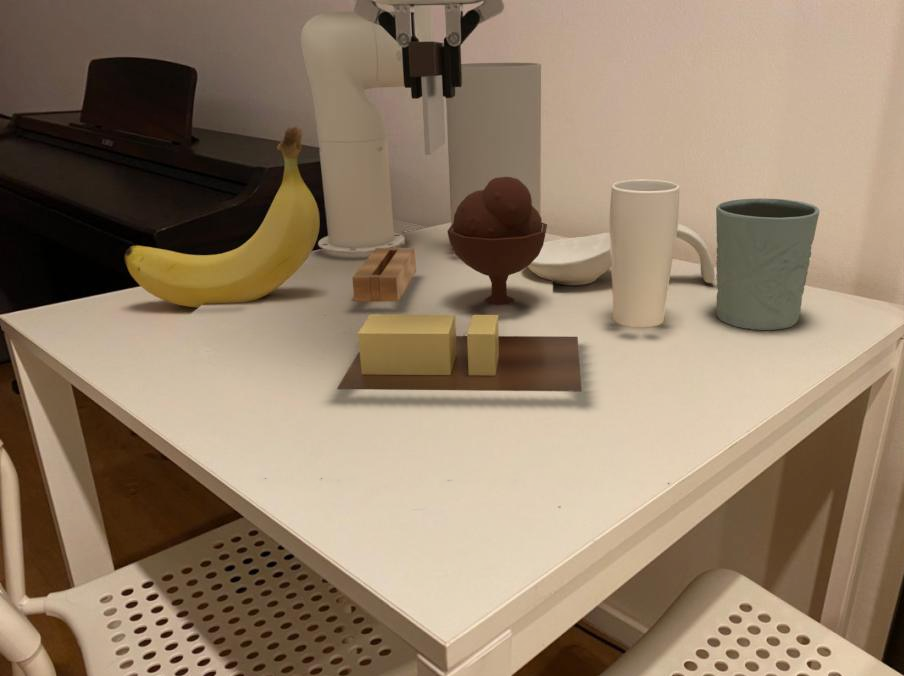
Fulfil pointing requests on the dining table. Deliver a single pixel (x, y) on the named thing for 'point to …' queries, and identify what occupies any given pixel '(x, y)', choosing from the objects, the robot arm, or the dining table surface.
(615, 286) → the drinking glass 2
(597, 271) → the spoon rest
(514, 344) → the board
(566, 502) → the dining table surface
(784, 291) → the green cup
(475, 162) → the cylinder vase
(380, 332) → the butter
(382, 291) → the knife block
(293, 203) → the banana
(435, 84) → the knife
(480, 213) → the ice cream bowl
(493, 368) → the butter slice
